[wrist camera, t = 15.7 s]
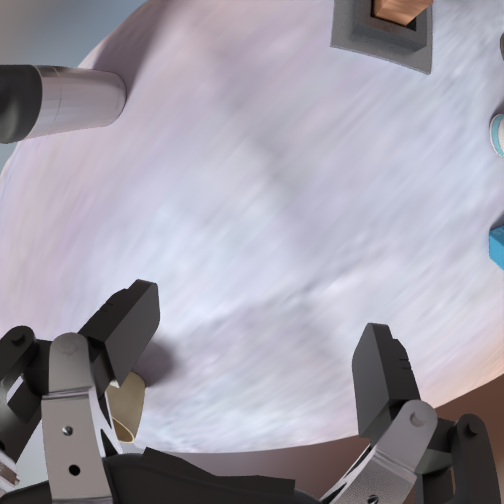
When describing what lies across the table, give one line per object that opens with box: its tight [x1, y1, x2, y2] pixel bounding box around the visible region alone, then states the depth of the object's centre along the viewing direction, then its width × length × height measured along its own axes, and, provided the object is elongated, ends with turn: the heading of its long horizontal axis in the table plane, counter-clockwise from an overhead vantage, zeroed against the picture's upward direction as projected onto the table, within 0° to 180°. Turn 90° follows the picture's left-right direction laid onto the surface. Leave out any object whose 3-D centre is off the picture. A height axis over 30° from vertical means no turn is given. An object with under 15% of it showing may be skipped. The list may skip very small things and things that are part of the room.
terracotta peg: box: [371, 0, 433, 27], centre depth 19 cm, size 4×4×12 cm
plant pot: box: [106, 371, 145, 443], centre depth 56 cm, size 15×15×16 cm
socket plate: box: [330, 0, 432, 75], centre depth 23 cm, size 14×14×5 cm
